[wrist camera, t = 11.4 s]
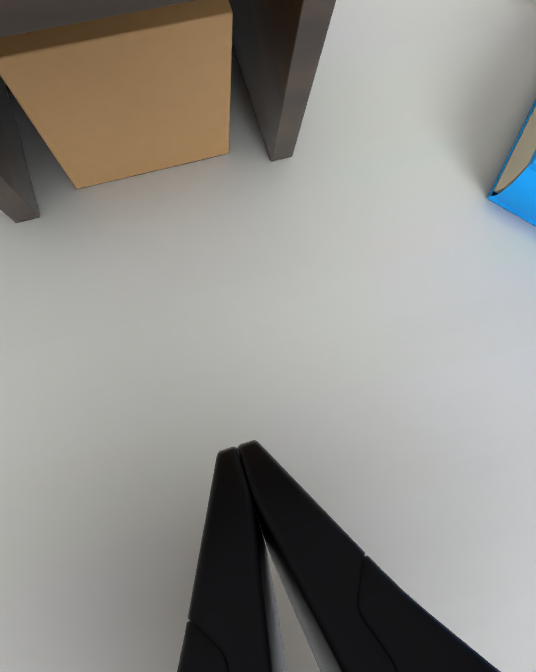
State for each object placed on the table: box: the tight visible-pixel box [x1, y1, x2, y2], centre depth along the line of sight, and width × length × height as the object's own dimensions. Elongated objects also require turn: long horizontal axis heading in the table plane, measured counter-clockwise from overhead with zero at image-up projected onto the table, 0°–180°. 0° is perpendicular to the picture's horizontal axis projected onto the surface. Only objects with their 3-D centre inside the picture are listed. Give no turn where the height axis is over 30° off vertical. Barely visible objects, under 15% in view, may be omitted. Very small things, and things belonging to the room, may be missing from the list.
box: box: [0, 0, 233, 189], centre depth 20 cm, size 10×8×9 cm
